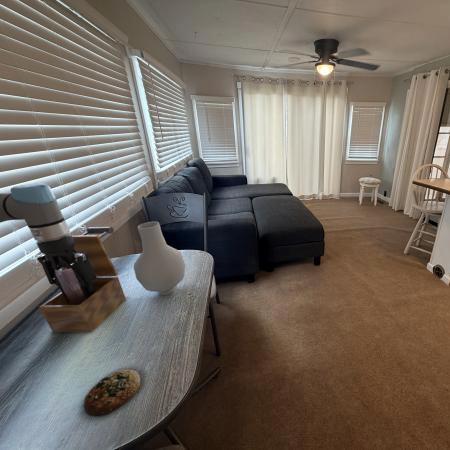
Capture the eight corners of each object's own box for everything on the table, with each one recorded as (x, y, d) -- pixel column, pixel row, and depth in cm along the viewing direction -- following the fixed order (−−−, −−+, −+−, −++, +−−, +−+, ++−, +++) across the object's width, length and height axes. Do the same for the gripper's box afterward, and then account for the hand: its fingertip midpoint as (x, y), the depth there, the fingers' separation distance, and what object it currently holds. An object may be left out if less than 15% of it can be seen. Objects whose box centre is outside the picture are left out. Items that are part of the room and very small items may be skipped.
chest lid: (96, 236, 77) (117, 222, 86) (58, 237, 77) (83, 223, 86) (116, 276, 85) (133, 259, 93) (82, 276, 85) (102, 260, 94)
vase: (148, 310, 84) (123, 239, 74) (139, 289, 96) (117, 225, 85) (195, 290, 94) (180, 224, 84) (182, 273, 106) (167, 213, 95)
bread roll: (76, 429, 51) (70, 410, 49) (96, 386, 61) (91, 370, 59) (137, 407, 55) (133, 389, 54) (147, 370, 65) (143, 355, 63)
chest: (92, 333, 75) (79, 306, 71) (53, 334, 75) (38, 307, 71) (126, 300, 90) (117, 276, 85) (94, 301, 90) (83, 276, 86)
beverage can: (95, 296, 83) (78, 259, 78) (97, 304, 79) (80, 265, 74) (72, 305, 79) (53, 266, 74) (73, 313, 76) (53, 273, 70)
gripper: (7, 243, 67) (43, 308, 76) (73, 242, 66) (101, 308, 75) (35, 232, 74) (65, 293, 82) (95, 231, 73) (119, 292, 82)
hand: (82, 300), depth 79 cm, fingers closed on beverage can, 6 cm apart
